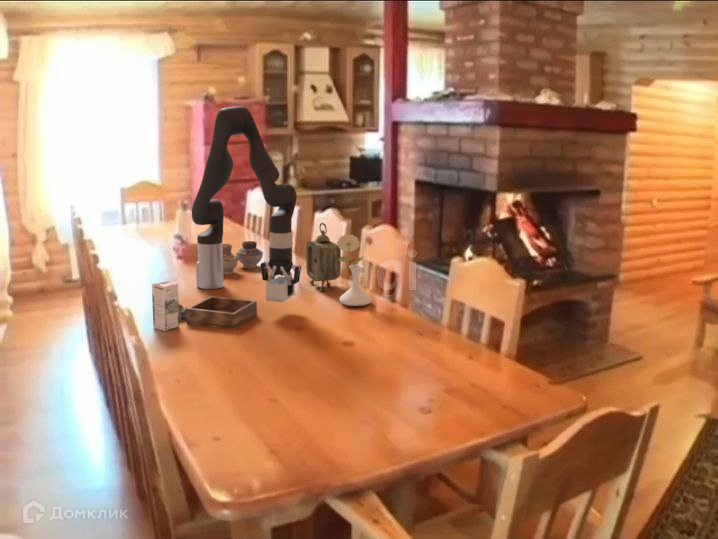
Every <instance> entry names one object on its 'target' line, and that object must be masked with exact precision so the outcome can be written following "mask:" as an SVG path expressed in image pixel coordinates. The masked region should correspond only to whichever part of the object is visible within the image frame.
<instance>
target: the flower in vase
mask: <svg viewBox="0 0 718 539" xmlns="http://www.w3.org/2000/svg"><path fill="white" fill-rule="evenodd" d="M336 244H337V245H338V247H339V249H340V251H341V252H342V251H344V252H348V253H347V254H348V256H344V255H341V258H339V259H338V261H341V263H342V262H343V263H347V262H348V261H349V260H350V262H351V263H352V264H350V265H349V266H348V267H349V269H350V271H351V274H352V283H351V284H352V285H351V287H350V288H349V289H347V291H345V292H344V293H343V294H342V295H341V296H339V302H340V303H341V304H343V305H345V306H350V307H362V306H366V305H369V304H371V302H372V300H373V299H372V297H371V295H369V294H368V293H367V292H366V291H365V290H363V289H362V287H361V286H360V276H361V275H360V274H361V271H362V270H363V268H364V266H363V265H361V264H356V263H360V262H361V261H362V260H363V258H364V256H360V257H358V258H355V260H352V258H351V257H350V252H354V251H357V250H358V248H360V246H361V242H360V240H359V238H358V236H355V235H354V234H343V235H341V236H340V237H339V238H338V240H337V242H336Z"/></svg>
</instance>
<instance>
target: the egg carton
mask: <svg viewBox="0 0 718 539" xmlns="http://www.w3.org/2000/svg"><path fill="white" fill-rule="evenodd" d="M186 308H188V307H187V306H186V307H185V308H184V305H183V304H180V303H179V321H181V320H182V319H183V318H185V319H186Z"/></svg>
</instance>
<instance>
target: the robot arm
mask: <svg viewBox="0 0 718 539" xmlns="http://www.w3.org/2000/svg"><path fill="white" fill-rule="evenodd" d="M242 134H243V136H244V137H245V138H246V140H247V142H248V144H249V151H248V152H249V153H248V154H249V156H248V158H249V165H250V167H251V170H252V171H253V172H254V174H255V176H256V177H257V179H258V181H259V184H260V187H261V192H262V194H263V199H264V200H265V202H266V203H267V204H268V206H270V207H272V208H278V210H277V211H276V212H275V213H273V214H271V216H270V218H269V237H268V238H269V239H268V242H269V243H268V249H269V251H268V253H269V255H268V256H269V257H268V258H269V261H268V262H267V261H263V262H261V263H259V264H260V271H261V278H262V280H263V281H265V282H266V283H267V282H269V281H271V280H272V279H274V278H276V276H283V277H285V279H286V280H287V282H288V284H289V285H288V296H290V295H292V294H293V285H294V284H295V285H297V283H299V282H300V279H301V278H300V277H301V271H302V266H301V265H300V264H299V265H296V264H294V263H293V233H292V220H293V216H294V212H295V207H296V204H297V199H298V198H297V197H298V196H297V195H298V194H297V190H296V189H295V187H294V186H293V185H292V184H290V183H282V184H277V183H276V182H277V181H278V179H279V178H280V171H279V170H278V168H277V166H276V164H275V163H274V161H273V159H272V157H271V156H270V155H269V153H268V151H267V148H266V147H265V144H264V141H263V139H262V136H261V134H260V132H259V128H258V127H257V125H256V121H255V119H254V118H253V115H252V113H251V111H250V110H249V109H248V107H246V106H244V105H238V106H230V107H229V106H228V107H224V108H221V109H219V110H218V112H217V114H216V117H215V120H214V128H213V135H212V140H211V145H210V149H209V154H208V157H207V160H206V162H205V167H204V170H203V176H202V179H201V183H200V184H199V188H198V191H197V193H196V196H195V198H194V201H193V204H192V206H191V219H192V222H193V223H194V224H195V225H197V226H207V225H208V226H209V225H210V226H209V227H208V228H207V229H206V230H204V231H202V232H200V233H199V234H198V235H197V239H196V240H197V242H196V243H197V261H196V262H195V275H196V287H197V288H199V289H202V290H216V289H217V290H218V289H222V288H224V275H223V244H224V243H223V237H224V206H223V203H222V201H221V200H220V199H216V198H215V199H214V198H213V197H214V196H216V194H217V193H218V192H219V191H221V190H222V189H224V187H225V186H226V185H227V184H228V183H229V181H230V178H231V176H232V173H233V172H232V171H233V168H234V160H233V158H232V155H231V153H230V151H229V149H228V145H229V141H230V138H232V136H237V135H242ZM269 268H270V270H271V271H270V273H269V271H268V269H269ZM291 270H292V271H293V272H294V273H293V274H292V271H291ZM293 278H294V279H293Z"/></svg>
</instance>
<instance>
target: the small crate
mask: <svg viewBox="0 0 718 539" xmlns="http://www.w3.org/2000/svg"><path fill="white" fill-rule="evenodd" d="M292 278H293V279H294V277H292ZM288 285H289V284H288V282H287V280H286V279H285V277H284V276H281V275H277V277H276V276H275V278H274V279H272V280H271V281H269V282H267V281H266V282H265V301H267V302H273V303H285V302H286V301H288V300H289V299H291V298H293V297H294V296H295V295H296V284H294V285H293V294H292V295H290V296H288Z"/></svg>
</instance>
